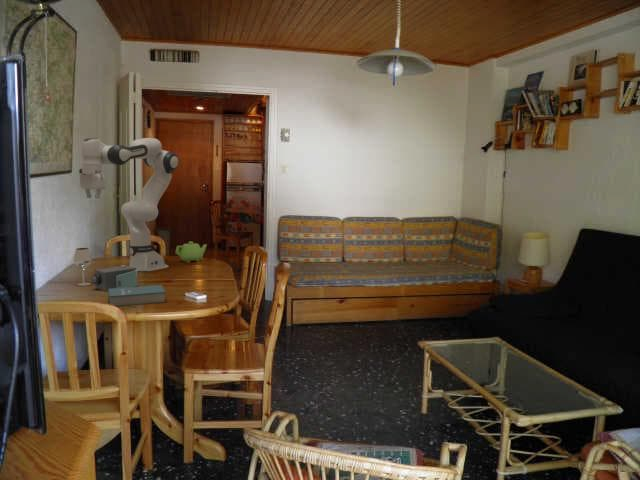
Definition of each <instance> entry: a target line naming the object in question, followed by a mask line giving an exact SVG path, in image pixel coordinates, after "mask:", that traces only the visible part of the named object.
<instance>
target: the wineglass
mask: <svg viewBox="0 0 640 480" xmlns="http://www.w3.org/2000/svg"><path fill="white" fill-rule="evenodd" d="M73 256H74V257H73V264H75V266H77V267H78V268H79V269H81V272H82V282H79V283H76V285H77V286H78V287H79V286H80V287H84V286H86V287H87V286H90V285H92V283H91V282H86V279H85V270H86V268H88V266H90V265H91V263H92V261H93V258H92V255H91V252H90V248H88V247H80V248H79V247H78V248H75V251H74V255H73Z"/></svg>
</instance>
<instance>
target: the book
mask: <svg viewBox="0 0 640 480" xmlns="http://www.w3.org/2000/svg"><path fill="white" fill-rule="evenodd" d="M107 292H108V303H109V301H110V303H109V304H113V305H116V306H115V307H125V306H135V305H145V304H146V305H148V304H159V303H160V304H162V303H166V302H167V301H166V300H165V299H166V296H165V294H166V291H165V289H164V286H163V285H162V284H159V285H158V284H156V285H142V286H141V285H140V286H139V285H138V286H134V287H125V288H111V289H108V291H107ZM109 304H108V305H109Z"/></svg>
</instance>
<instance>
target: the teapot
mask: <svg viewBox="0 0 640 480" xmlns="http://www.w3.org/2000/svg"><path fill="white" fill-rule="evenodd" d="M207 246H208V244H206V243H205V244H203V245H202V246H200V244H199V243H194V241H188V243H183V244H182V245H176V249H175V252H174V253H175V254H176V255H178V257H179V258H180V259H181V260H183V262H185V263H186V264H190V263H191V261H195V263H200V260H202V259H203V257H204V253H205V251H206V248H207Z"/></svg>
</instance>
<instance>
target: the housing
mask: <svg viewBox="0 0 640 480" xmlns="http://www.w3.org/2000/svg"><path fill="white" fill-rule="evenodd" d="M135 270H136V268H134V267H130V266H129V265H125V264H123V265H119V266H113V267H106V268H98V269H94V273H93V274H92V281H93V285H94V286H95V289H96V290H101V291H102V292H103V291H104V292H108V289H111V288H117V282H116V276H118V275H121V274H125V273H128V272H131V271H135Z"/></svg>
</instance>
